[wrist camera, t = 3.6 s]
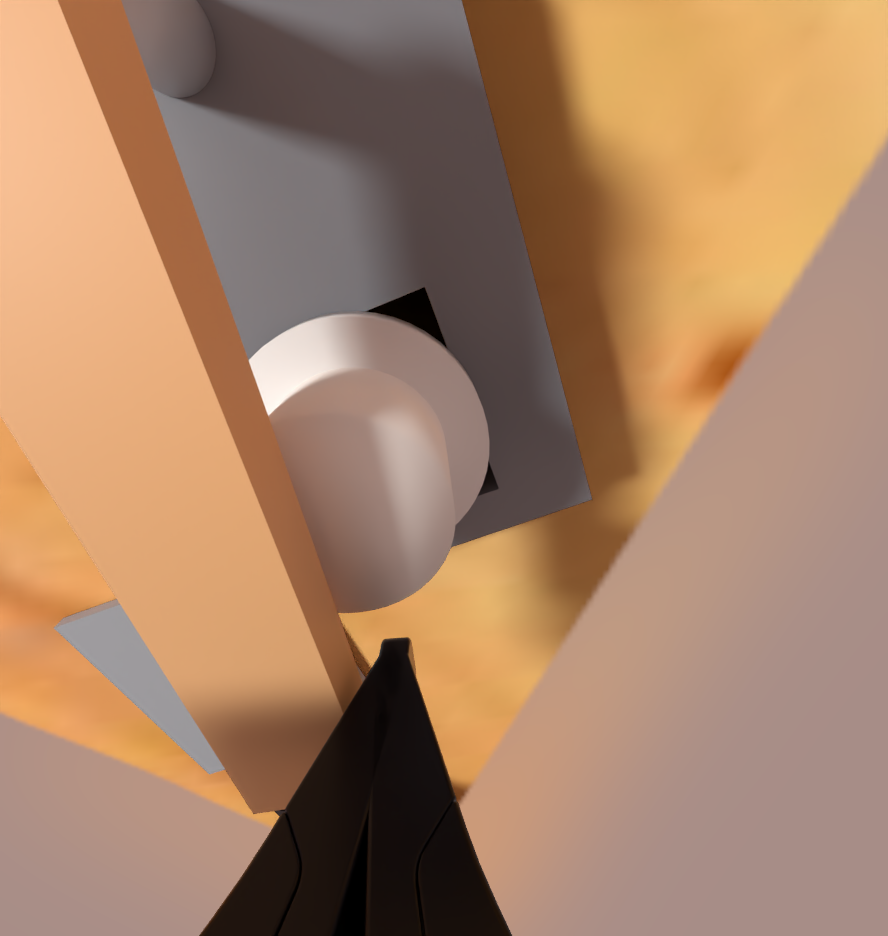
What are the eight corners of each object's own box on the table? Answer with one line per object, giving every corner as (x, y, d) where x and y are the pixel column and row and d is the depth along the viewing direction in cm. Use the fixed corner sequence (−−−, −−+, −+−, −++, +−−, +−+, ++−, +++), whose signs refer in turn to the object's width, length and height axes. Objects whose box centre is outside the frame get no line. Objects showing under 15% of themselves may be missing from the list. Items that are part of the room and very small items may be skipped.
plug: (495, 449, 15) (551, 595, 9) (331, 508, 16) (272, 684, 9) (429, 263, 12) (440, 278, 6) (237, 343, 13) (65, 432, 7)
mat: (387, 710, 20) (387, 721, 20) (213, 763, 21) (209, 774, 21) (274, 542, 16) (270, 551, 16) (63, 617, 17) (53, 627, 17)
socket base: (561, 454, 15) (663, 602, 9) (293, 548, 16) (214, 739, 10) (414, -65, 9) (404, -683, 3) (23, 133, 11) (-553, -34, 4)
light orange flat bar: (385, 734, 10) (381, 795, 9) (267, 751, 10) (248, 814, 9) (-31, -469, 3) (-245, -810, 2) (-363, -395, 3) (-727, -695, 2)
